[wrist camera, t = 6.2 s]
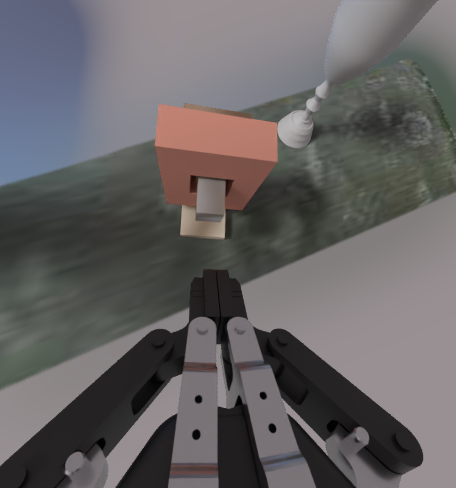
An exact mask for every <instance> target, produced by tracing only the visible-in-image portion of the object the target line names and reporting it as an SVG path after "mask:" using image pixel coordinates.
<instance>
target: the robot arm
mask: <svg viewBox="0 0 456 488" xmlns="http://www.w3.org/2000/svg"><path fill="white" fill-rule="evenodd" d="M216 344H221V350H222V351H221V356H220V358H221V365H222V371H223V377H224V383H225V389H226V397H227V398H226V408H222V407H218V406H217V377H218V376H217V367H216ZM180 374H182V382H181V390H180V398H179V406H178V413H177V414H175V415H173V416H172V417H170V418H169V419H167V420H166V421H165V422H164V423H162V424H161V425H160V426H159V427H158V429H157V430H156V431H155V432H154V434H153V435H152V436H151V438H150V439H149V441H148V442H147V443H146V445H145V446H144V448H143V449H142V451H141V452H140V453H139V455H138V456H137V458H136V459H135V461H134V462H133V463H132V465H131V466H130V468H129V469H128V471H127V472H126V473H125V475H124V476H123V478H122V479H121V480H120V482H119V483H118V485H117V486H116V488H398V487H399V483H400V479H401V476H402V475H403V474H405V473H406V472H408V471H410V470H412V469H414V468H416V467H418V466H420V465H421V464H422V462H423V452H422V449H421V447H420V444H419V443H418V441H417V439H416V438H415V437H414V435H413V434H412V433H411V432H410V431H409V430H408V429H407V428H406V427H404V426H403V425H402V424H401V423H400V422H398V421H397V420H396V419H395V418H394V417H392V416H391V415H390V414H389V413H388V412H386V411H385V410H384V409H383V408H381V407H380V406H379V405H378V404H376V403H375V402H374V401H373V400H372V399H370V398H369V397H368V396H367V395H365V394H364V393H363V392H362V391H361V390H359V389H358V388H357V387H356V386H354V385H353V384H352V383H351V382H349V381H348V380H347V379H346V378H345V377H343V376H342V375H341V374H340V373H338V372H337V371H336V370H335V369H333V368H332V367H331V366H330V365H328V364H327V363H326V362H325V361H324V360H322V359H321V358H320V357H319V356H317V355H316V354H315V353H314V352H313V351H311V350H310V349H309V348H308V347H306V346H305V345H304V344H303V343H302V342H300V341H299V340H298V339H297V338H295V337H294V336H293V335H292V334H291V333H289V332H288V331H286V330H284V329H274V330H272V331H271V332H270V333H269V332H265V331H262V330H259V329H257V328H255V327H254V326H252V324H251V323H250V322H249V321H248V318H247V314H246V309H245V305H244V300H243V295H242V291H241V286H240V284H239V282H238V281H237V280H236V279H232V278H229V274H228V270H216V271H215V270H210V269H203V277H202V278H197V277H195V278H194V279H193V281H192V283H191V291H190V309H189V323H188V324H187V326H186V327H184V328H183V329H181V330H179V331H176V332H173V333H170V332H169V331H167V330H165V329H156V330H153V331H151V332H150V333H148V334H147V335H146V336H145V337H144V338H143V339H142V340H141V341H139V342H138V343H137V344H136V345H135V346H134V347H133V348H132V349H130V350H129V351H128V352H127V353H126V354H125V355H124V356H123V357H122V358H120V359H119V360H118V361H117V362H116V363H115V364H114V365H112V366H111V367H110V368H109V369H108V370H107V371H106V372H105V373H104V374H102V375H101V376H100V377H99V378H98V379H97V380H96V381H95V382H94V383H92V385H90V386H89V387H88V388H87V389H86V390H85V391H83V392H82V393H81V394H80V395H79V396H78V397H77V398H76V399H75V400H73V401H72V402H71V403H70V404H69V405H68V406H67V407H66V408H65V409H63V410H62V411H61V412H60V413H59V414H58V415H57V416H56V417H55V418H53V419H52V420H51V421H50V422H49V423H48V424H47V425H45V427H43V428H42V429H41V430H40V431H39V432H38V433H37V434H36V435H34V436H33V437H32V438H31V439H30V440H29V441H28V442H26V443H25V444H24V445H23V446H22V447H21V448H20V449H19V450H18V451H16V452H15V453H14V454H13V455H12V456H11V457H10V458H9V459H8V460H6V461H5V462H4V463H3V464H2V465H1V466H0V488H103V487H104V485H105V483H106V480H107V476H108V463H107V460H106V457H107V456H108V455H109V453H110V452H111V451H112V450H113V449H114V447H115V446H116V445H117V444H118V443H119V441H120V440H121V439H122V438H123V437H124V435H125V434H126V433H127V432H128V431H129V429H130V428H131V427H132V426H133V425H134V423H135V422H136V421H137V420H138V418H139V417H140V416H141V415H142V414H143V413H144V411H145V410H146V409H147V408H148V407H149V405H150V404H151V403H152V402H153V401H154V399H155V398H156V397H157V396H158V395H159V393H160V392H161V391H162V390H163V388H164V387H165V386H166V385H167V384H168V383H169V381H170V380H171V378H173V377H175V376H178V375H180ZM282 399H283V400H284V401H286V403H287V404H288V405H289V406H291V408H292V409H293V410H294V411H295V412H296V413H297V414H298V415H299V416H300V417H301V418H302V419H303V420H304V421H305V422H306V423H307V424H308V425H309V426H310V427H311V428H312V429H313V430H314V431H315V432H316V433H317V434H318V435H319V436H320V437H321V438H322V439H323V440H324V441H325V442H326V450H327V453H328V456H327V455H326V454H325V452H323V450H322V449H321V448H320V447H319V446H318V445H317V444H316V442H315V441H314V440H313V439H312V438H311V437H310V436H309V435H308V434H307V433H306V431H305V430H304V429H303V428H302V427H301V426H300V425H299V424H298V423H297V422H296V421H295V420H294V419H293V418H292V417H291V416H290V415H289V414H287V413H286V410H285V407H284V404H283V401H282Z"/></svg>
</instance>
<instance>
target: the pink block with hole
mask: <svg viewBox="0 0 456 488" xmlns="http://www.w3.org/2000/svg"><path fill="white" fill-rule="evenodd" d="M155 149H156V154H157V159H158V163H159V168H160V173H161V178H162V183H163V187H164V192H165V197H166V202H167V204H178V205H189V206H196V200H197V183H196V176H203V177H212V178H221V179H226V181H225V209H233V210H243V208H244V207H245V206H246V204H247V203H248V202H249V200H250V199H251V197H252V196H253V195H254V193H255V192H256V191H257V189H258V188H259V187H260V185H261V184H262V182H263V181H264V180H265V178H266V177H267V176H268V174H269V173H270V171H271V170H272V169H273V167H274V166H275V165H276V163H277V123H273V122H267V121H261V120H255V119H249V118H242V117H236V116H230V115H224V114H218V113H211V112H205V111H199V110H193V109H187V108H180V107H174V106H168V105H162V104H159V111H158V120H157V130H156V139H155Z"/></svg>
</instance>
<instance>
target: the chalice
mask: <svg viewBox="0 0 456 488" xmlns="http://www.w3.org/2000/svg"><path fill="white" fill-rule="evenodd" d="M437 1H438V0H343V1H342V2H341V4H340V6H339V8H338V10H337V12H336V15H335V18H334V22H333V25H332V29H331V33H330V36H329V40H328V46H327V52H326V58H325V64H324V74H325V76H326V81H325V82H324V83H323V84H322V85H320V86H318V87H317V88H316V94H315V97H313V98H311V99H309V100H308V101H307V103H306V104H307V108H306V110H305V111H302V110H297V111H293V112H292V113H290V114H289V115H287V116H286V117H284V118H282V119H281V120H280V122H279V123H278V128H277V129H278V135H279V137H280V139H281V140H282V141H283V142H284V143H285V144H286V145H288V146H290V147H293V148H302V147H305V146H306V145H307V144H308V143H309V142H310V140H311V135H312V131H313V127H314V125H313V119H312V117H311V116H310V115H311V114H312V113H313V112H316V111H318V110H319V109H320V101H321V100H322V99H324V98H327V97H328V95H329V90H330V88H331V86H332V85H333V84H339V85H340V84H343V83H345V82H347V81H349V80H351V79H353V78H355V77H357V76H359V75H360V74H362V73H364V72H366V71H367V70H369V69H370V68H372V67H373V66H374V65H376V64H377V63H379V62H380V61H382V60H383V59H385V58H386V57H387V56H388V55H390V54H391V53H392V52H393V51H394V50H395V49H396V47H397V46H398V45H399V44H400V43H401V42H402V40H403V39H404V38H405V37H406V36H407V35H408V34H409V33H410V31H411V30H412V29H413V28H414V27H415V26H416V25H417V23H418V22H419V21H420V20H421V19H422V18H423V16H424V15H425V14H426V13H427V12H428V11H429V10H430V9H431V7H432V6H433V5H434V4H435V3H436V2H437Z"/></svg>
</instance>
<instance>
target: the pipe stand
mask: <svg viewBox="0 0 456 488" xmlns="http://www.w3.org/2000/svg"><path fill="white" fill-rule="evenodd" d="M184 108H187V109H193V110H199V111H205V112H211V113H218V114H224V115H230V116H236V117H242V118H249V119H252V114H247V113H241V112H235V111H229V110H222V109H216V108H210V107H204V106H198V105H192V104H186V103H184ZM225 181H226V179H221V178H212V177H203V176H196V183H197V200H196V206H189V205H182V216H181V230H180V237H193V238H208V239H222V240H223V239H224V238H225V215H226V209H225Z"/></svg>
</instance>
